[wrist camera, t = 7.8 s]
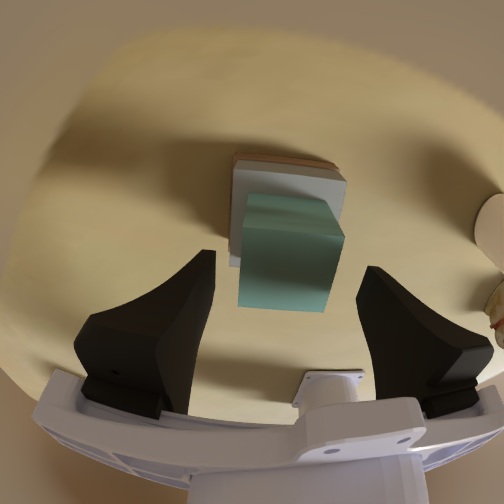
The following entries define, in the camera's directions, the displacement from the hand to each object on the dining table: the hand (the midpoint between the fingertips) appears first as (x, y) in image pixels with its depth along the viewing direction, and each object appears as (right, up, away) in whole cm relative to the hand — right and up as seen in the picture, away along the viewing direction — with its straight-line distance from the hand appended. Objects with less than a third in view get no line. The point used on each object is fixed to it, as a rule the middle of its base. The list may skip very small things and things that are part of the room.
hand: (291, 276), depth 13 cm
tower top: (0, +4, +6) cm, 7 cm away
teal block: (0, +2, +4) cm, 5 cm away
